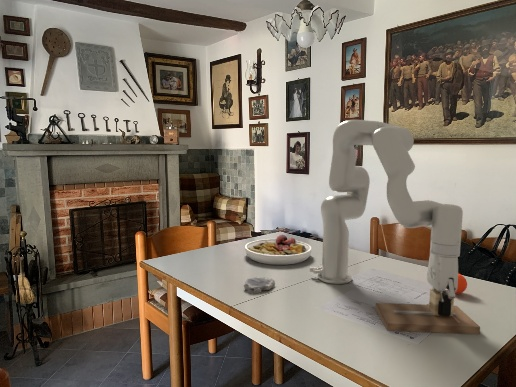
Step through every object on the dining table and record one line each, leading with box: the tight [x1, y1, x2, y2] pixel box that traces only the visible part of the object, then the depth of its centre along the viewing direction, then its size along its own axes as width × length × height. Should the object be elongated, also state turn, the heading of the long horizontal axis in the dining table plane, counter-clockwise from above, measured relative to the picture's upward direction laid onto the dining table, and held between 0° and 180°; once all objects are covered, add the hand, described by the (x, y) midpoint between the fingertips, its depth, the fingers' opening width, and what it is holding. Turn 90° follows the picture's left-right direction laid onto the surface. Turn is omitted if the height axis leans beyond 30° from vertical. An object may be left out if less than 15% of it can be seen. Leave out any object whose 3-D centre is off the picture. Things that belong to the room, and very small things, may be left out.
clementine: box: [446, 273, 468, 295], centre depth 131 cm, size 8×7×7 cm
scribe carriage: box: [428, 289, 455, 316], centre depth 109 cm, size 6×4×6 cm
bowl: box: [244, 234, 312, 266], centre depth 174 cm, size 30×30×8 cm
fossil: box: [243, 276, 276, 294], centre depth 135 cm, size 11×4×10 cm
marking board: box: [375, 302, 481, 335], centre depth 109 cm, size 24×14×2 cm, turn 86°
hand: (440, 310), depth 109 cm, fingers closed on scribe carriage, 4 cm apart
